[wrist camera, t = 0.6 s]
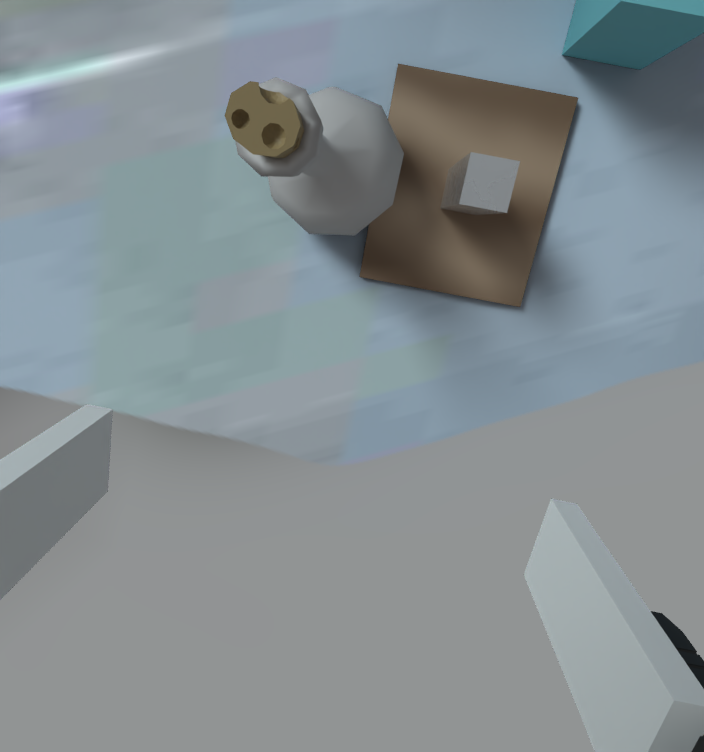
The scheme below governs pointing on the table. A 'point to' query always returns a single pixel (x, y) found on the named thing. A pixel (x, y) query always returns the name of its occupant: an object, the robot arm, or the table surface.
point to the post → (480, 184)
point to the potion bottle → (318, 153)
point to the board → (429, 173)
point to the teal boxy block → (632, 30)
